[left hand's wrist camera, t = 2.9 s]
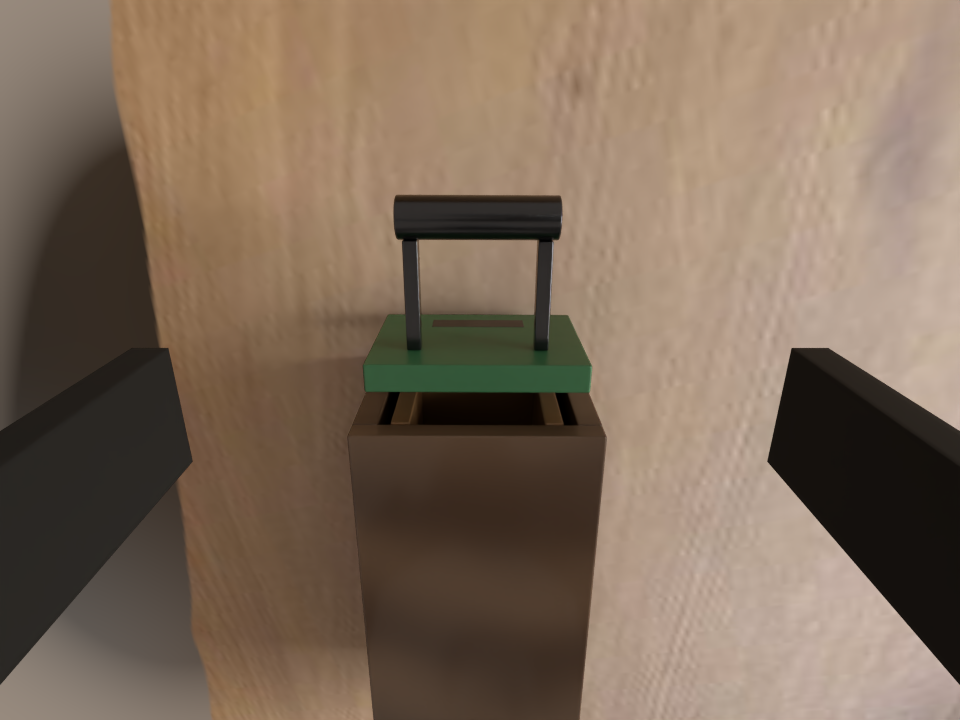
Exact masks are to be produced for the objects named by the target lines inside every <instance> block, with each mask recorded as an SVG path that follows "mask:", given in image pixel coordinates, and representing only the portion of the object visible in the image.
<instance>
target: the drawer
mask: <svg viewBox="0 0 960 720" xmlns="http://www.w3.org/2000/svg"><path fill="white" fill-rule="evenodd" d="M394 229H395V235H396V238H397V239H398V240H403V241H402V252H403V274H404V296H405V315H393V314H389V315H388V316H387V318H386V320H385V322H384V324H383V326H382V328H381V330H380V332H379V334H378V336H377V338H376V340H375V342H374V344H373V346H372V348H371V350H370V352H369V354H368V356H367V358H366V360H365V362H364V364H363V376H364V389H365V392H400V394H399V398H398V401H397V404H396V407H395V411H394V414H393V417H392V420H391V425H552V426H564V423H563V419H562V416H561V412H560V409H559V405H558V402H557V398H556V395H555V393H589V392H590V387H591V375H592V365H591V363H590V361H589V359H588V357H587V355H586V353H585V350H584V348H583V346H582V344H581V342H580V340H579V338H578V336H577V333H576V331H575V329H574V327H573V325H572V323H571V321H570V318H569V316H568V315H550V307H551V287H552V268H553V248H554V242H553V240H559V238H560V235H561V229H562V200H561V197H560V196H549V195H396V196H395V199H394ZM419 240H537V260H536V285H535V310H534V315H421V292H420V263H419Z"/></svg>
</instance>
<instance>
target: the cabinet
mask: <svg viewBox="0 0 960 720" xmlns="http://www.w3.org/2000/svg"><path fill="white" fill-rule="evenodd" d="M399 394H400V392H366V394H365V397H364V399H363V401H362V404H361V406H360V408H359V411H358V413H357V415H356V418H355V420H354V422H353V425H352V427H351V430H350V432H349V434H348V448H349V459H350V470H351V480H352V491H353V502H354V513H355V524H356V535H357V545H358V556H359V567H360V578H361V589H362V600H363V610H364V621H365V632H366V643H367V654H368V665H369V675H370V686H371V697H372V708H373V719H374V720H580V710H581V699H582V689H583V679H584V668H585V658H586V648H587V637H588V627H589V617H590V607H591V596H592V586H593V576H594V565H595V555H596V545H597V535H598V524H599V514H600V504H601V493H602V483H603V473H604V462H605V452H606V442H607V437H606V434H605V432H604V430H603V427H602V424H601V421H600V419H599V417H598V414H597V412H596V409H595V407H594V404H593V402H592V400H591V397H590V395H589V393H555V395H556V398H557V402H558V405H559V409H560V412H561V416H562V419H563V423H564V426H552V425H391V420H392V417H393V414H394V411H395V407H396V404H397V401H398V398H399Z"/></svg>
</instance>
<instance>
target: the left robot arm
mask: <svg viewBox="0 0 960 720" xmlns="http://www.w3.org/2000/svg"><path fill="white" fill-rule="evenodd" d="M192 462H193V461H192V456H191V452H190V447H189V442H188V438H187V433H186V428H185V424H184V419H183V414H182V410H181V405H180V400H179V396H178V391H177V386H176V382H175V377H174V372H173V368H172V363H171V358H170V354H169V349H168V348H131V349H130V350H128V351H126V352H125V353H123V354H122V355H120V356H118V357H117V358H115V359H114V360H112V361H111V362H109V363H108V364H106V365H104V366H103V367H101V368H99V369H98V370H96V371H95V372H93V373H92V374H90V375H88V376H87V377H85V378H84V379H82V380H80V381H79V382H77V383H76V384H74V385H73V386H71V387H69V388H68V389H66V390H65V391H63V392H61V393H60V394H58V395H57V396H55V397H54V398H52V399H50V400H49V401H47V402H46V403H44V404H42V405H41V406H39V407H38V408H36V409H35V410H33V411H31V412H30V413H28V414H27V415H25V416H23V417H22V418H20V419H19V420H17V421H16V422H14V423H12V424H11V425H9V426H8V427H6V428H4V429H3V430H1V431H0V684H1V683H2V682H3V681H4V680H5V679H6V677H7V676H8V675H9V674H10V673H11V672H12V670H13V669H14V668H15V667H16V666H17V665H18V664H19V662H20V661H21V660H22V659H23V658H24V657H25V655H26V654H27V653H28V652H29V651H30V650H31V648H32V647H33V646H34V645H35V644H36V643H37V642H38V640H39V639H40V638H41V637H42V636H43V635H44V633H45V632H46V631H47V630H48V629H49V628H50V626H51V625H52V624H53V623H54V622H55V621H56V619H57V618H58V617H59V616H60V615H61V614H62V613H63V611H64V610H65V609H66V608H67V607H68V605H69V604H70V603H71V602H72V601H73V600H74V599H75V597H76V596H77V595H78V594H79V593H80V592H81V590H82V589H83V588H84V587H85V586H86V585H87V584H88V582H89V581H90V580H91V579H92V578H93V577H94V575H95V574H96V573H97V572H98V571H99V569H100V568H101V567H102V566H103V565H104V564H105V563H106V561H107V560H108V559H109V558H110V557H111V556H112V554H113V553H114V552H115V551H116V550H117V549H118V548H119V546H120V545H121V544H122V543H123V542H124V541H125V539H126V538H127V537H128V536H129V535H130V534H131V532H132V531H133V530H134V529H135V528H136V527H137V525H138V524H139V523H140V522H141V521H142V520H143V519H144V517H145V516H146V515H147V514H148V513H149V512H150V510H151V509H152V508H153V507H154V506H155V505H156V503H157V502H158V501H159V500H160V499H161V498H162V497H163V495H164V494H165V493H166V492H167V491H168V490H169V488H170V487H171V486H172V485H173V484H174V483H175V481H176V480H177V479H178V478H179V477H180V476H181V474H182V473H183V472H184V471H185V470H186V469H187V468H188V466H189V465H190V464H191V463H192ZM767 462H768V463H769V464H770V465H771V466H772V468H773V469H774V470H775V471H776V472H777V473H778V474H779V476H780V477H781V478H782V479H783V480H784V481H785V483H786V484H787V485H788V486H789V487H790V488H791V490H792V491H793V492H794V493H795V494H796V495H797V497H798V498H799V499H800V500H801V501H802V502H803V503H804V505H805V506H806V507H807V508H808V509H809V510H810V512H811V513H812V514H813V515H814V516H815V517H816V519H817V520H818V521H819V522H820V523H821V524H822V526H823V527H824V528H825V529H826V530H827V531H828V532H829V534H830V535H831V536H832V537H833V538H834V539H835V541H836V542H837V543H838V544H839V545H840V546H841V548H842V549H843V550H844V551H845V552H846V553H847V555H848V556H849V557H850V558H851V559H852V560H853V561H854V563H855V564H856V565H857V566H858V567H859V568H860V570H861V571H862V572H863V573H864V574H865V575H866V577H867V578H868V579H869V580H870V581H871V582H872V584H873V585H874V586H875V587H876V588H877V589H878V590H879V592H880V593H881V594H882V595H883V596H884V597H885V599H886V600H887V601H888V602H889V603H890V604H891V606H892V607H893V608H894V609H895V610H896V611H897V612H898V614H899V615H900V616H901V617H902V618H903V619H904V621H905V622H906V623H907V624H908V625H909V626H910V628H911V629H912V630H913V631H914V632H915V633H916V635H917V636H918V637H919V638H920V639H921V640H922V641H923V643H924V644H925V645H926V646H927V647H928V648H929V650H930V651H931V652H932V653H933V654H934V655H935V657H936V658H937V659H938V660H939V661H940V662H941V664H942V665H943V666H944V667H945V668H946V669H947V670H948V672H949V673H950V674H951V675H952V676H953V677H954V679H955V680H956V681H957V682H958V683H959V684H960V431H959V430H957V429H956V428H954V427H952V426H951V425H949V424H948V423H946V422H944V421H943V420H941V419H940V418H938V417H937V416H935V415H933V414H932V413H930V412H929V411H927V410H925V409H924V408H922V407H921V406H919V405H918V404H916V403H914V402H913V401H911V400H910V399H908V398H906V397H905V396H903V395H902V394H900V393H899V392H897V391H895V390H894V389H892V388H891V387H889V386H887V385H886V384H884V383H883V382H881V381H880V380H878V379H876V378H875V377H873V376H872V375H870V374H868V373H867V372H865V371H864V370H862V369H861V368H859V367H857V366H856V365H854V364H853V363H851V362H849V361H848V360H846V359H845V358H843V357H842V356H840V355H838V354H837V353H835V352H834V351H832V350H830V349H829V348H792V349H791V354H790V358H789V363H788V368H787V372H786V377H785V382H784V386H783V391H782V396H781V400H780V405H779V410H778V414H777V419H776V424H775V428H774V433H773V438H772V442H771V447H770V452H769V456H768V461H767Z"/></svg>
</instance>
